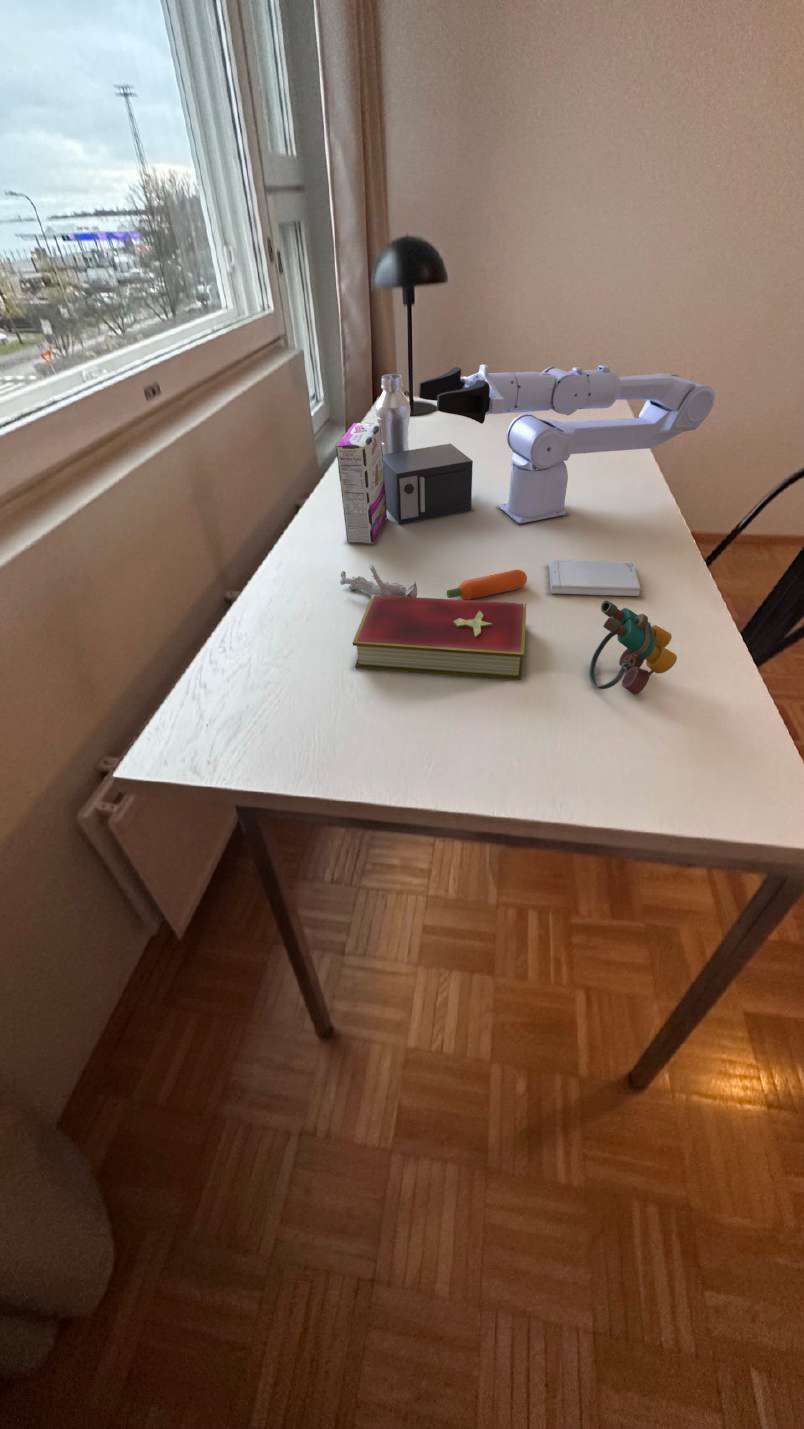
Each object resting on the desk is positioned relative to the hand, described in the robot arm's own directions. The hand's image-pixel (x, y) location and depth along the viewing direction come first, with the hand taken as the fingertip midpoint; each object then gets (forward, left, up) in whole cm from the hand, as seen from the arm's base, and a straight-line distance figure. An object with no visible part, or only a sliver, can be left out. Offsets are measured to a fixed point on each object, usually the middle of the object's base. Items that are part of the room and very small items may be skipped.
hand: (428, 396), depth 96 cm
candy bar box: (+10, -5, -22) cm, 25 cm away
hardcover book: (+11, +33, -22) cm, 41 cm away
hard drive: (-16, +26, -22) cm, 38 cm away
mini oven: (-3, -10, -22) cm, 24 cm away
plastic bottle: (-1, -21, -22) cm, 30 cm away
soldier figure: (+15, +18, -22) cm, 32 cm away
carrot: (-1, +23, -22) cm, 32 cm away
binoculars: (-7, +48, -22) cm, 53 cm away
